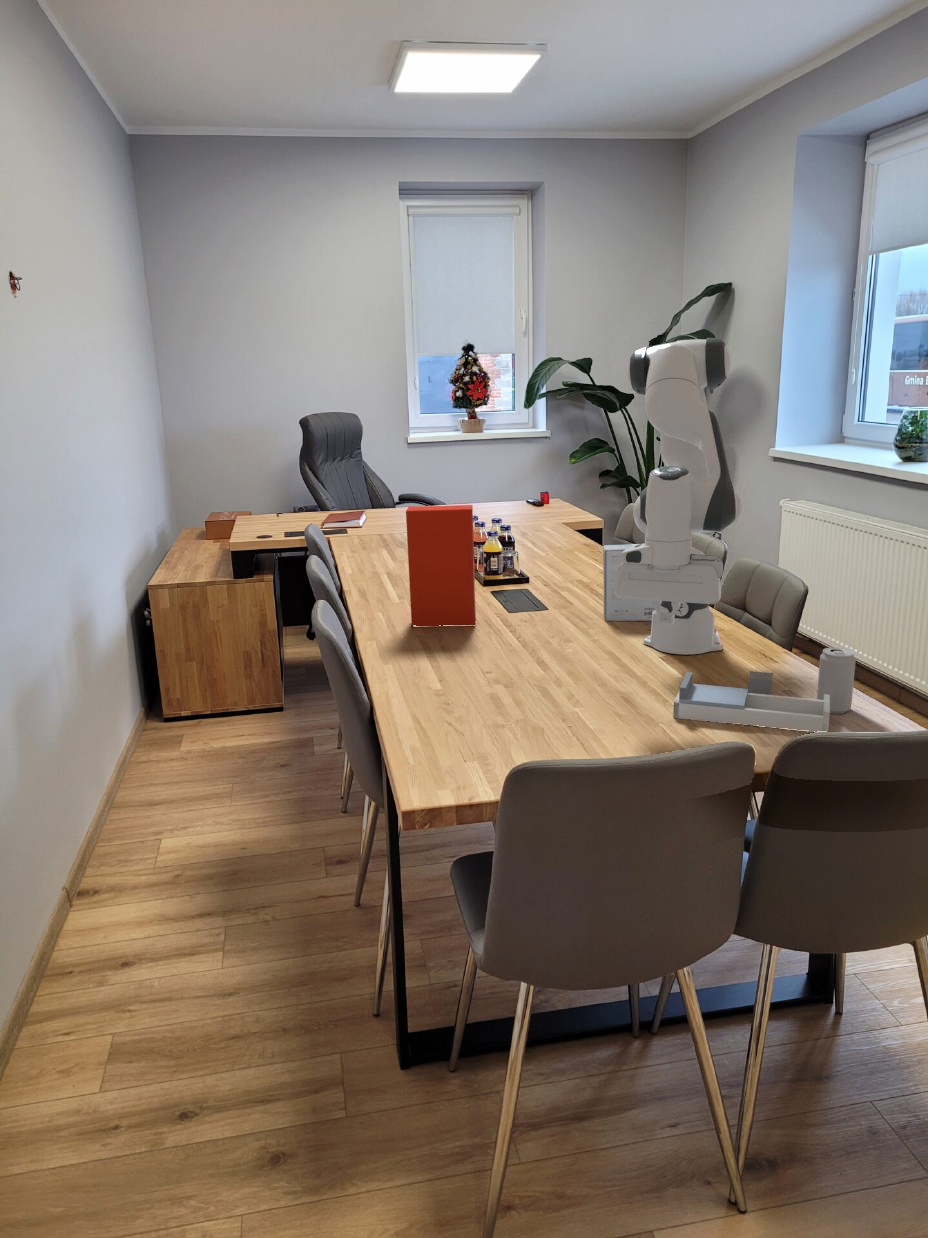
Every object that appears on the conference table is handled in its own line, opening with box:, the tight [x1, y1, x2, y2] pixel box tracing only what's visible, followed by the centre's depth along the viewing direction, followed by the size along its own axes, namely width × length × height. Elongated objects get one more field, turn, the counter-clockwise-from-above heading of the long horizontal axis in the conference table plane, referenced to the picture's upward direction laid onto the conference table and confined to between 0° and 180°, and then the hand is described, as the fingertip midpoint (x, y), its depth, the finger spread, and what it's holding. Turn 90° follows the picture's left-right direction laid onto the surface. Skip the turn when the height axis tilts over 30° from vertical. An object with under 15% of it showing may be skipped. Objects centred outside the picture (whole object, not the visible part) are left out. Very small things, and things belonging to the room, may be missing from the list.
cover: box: [678, 671, 748, 709], centre depth 173 cm, size 10×12×3 cm
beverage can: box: [816, 647, 857, 715], centre depth 172 cm, size 6×6×12 cm
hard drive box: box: [602, 543, 655, 622], centre depth 240 cm, size 16×8×20 cm, turn 84°
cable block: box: [747, 670, 774, 695], centre depth 180 cm, size 4×4×5 cm
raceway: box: [672, 691, 831, 733], centre depth 171 cm, size 10×28×4 cm, turn 68°
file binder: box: [405, 504, 477, 626], centre depth 239 cm, size 8×17×32 cm, turn 88°
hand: (666, 622), depth 173 cm, fingers closed
